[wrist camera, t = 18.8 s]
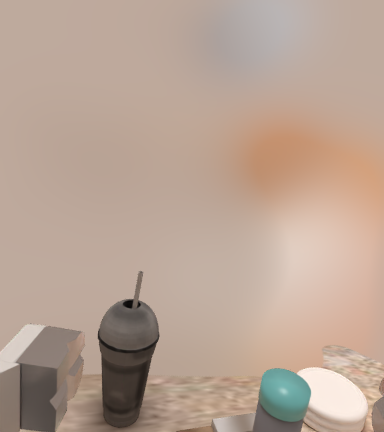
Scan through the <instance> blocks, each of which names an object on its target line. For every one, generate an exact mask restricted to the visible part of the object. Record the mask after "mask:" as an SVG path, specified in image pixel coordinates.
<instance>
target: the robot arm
mask: <svg viewBox="0 0 384 432" xmlns="http://www.w3.org/2000/svg"><path fill="white" fill-rule="evenodd" d="M84 343H85V335H84V333H83V332H81V331H75V330H69V329H63V328H57V327H51V326H45V325H38V324H31V323H30V324H26V325H25V326H24V327H23V328H22V330H20V331H19V333H18V334H17V335H16V336H15V337H14V338H13V339H12V340H11V341H10V342H9V343H8V344H7V345H6V346H5V347H4V348H3V349H2V350H1V351H0V432H19V431H20V429H26V430H34V431H42V432H56V430H57V429H58V427H59V425H60V423H61V421H62V419H63V417H64V415H65V413H66V411H67V401H69V400H70V399H72V398H73V397H74V396H75V394H76V392H77V389H78V387H79V384H80V381H81V377H82V371H83V363H84V360H83V359H82V357H81V356H80V353H81V351H82V349H83V348H84V345H85V344H84ZM379 390H380V392H381V395H382V398H380V399H379V400H378V401H376V402H375V403H374V407H373V411H372V426H373V430H374V432H384V379H383V380H382V381H381V384H380V387H379Z"/></svg>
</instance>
